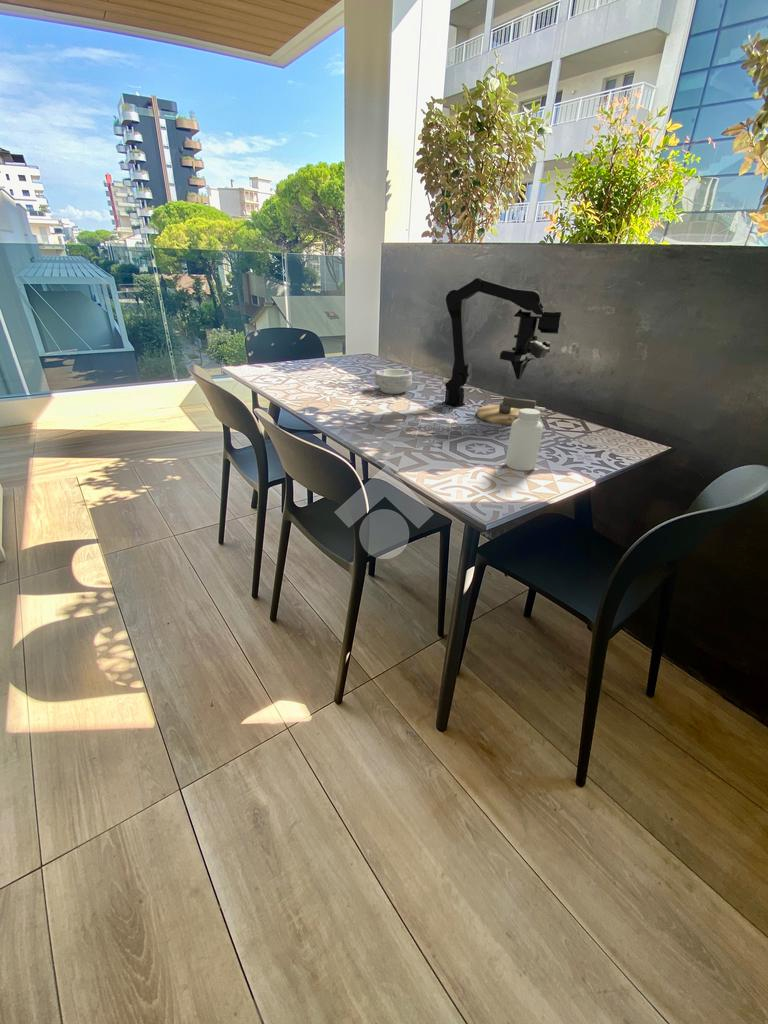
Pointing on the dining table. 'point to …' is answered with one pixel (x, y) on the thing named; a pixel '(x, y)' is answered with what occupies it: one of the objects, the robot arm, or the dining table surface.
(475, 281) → the robot arm
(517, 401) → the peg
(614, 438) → the dining table surface
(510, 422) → the dial board
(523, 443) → the pill bottle
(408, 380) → the white stone bowl
